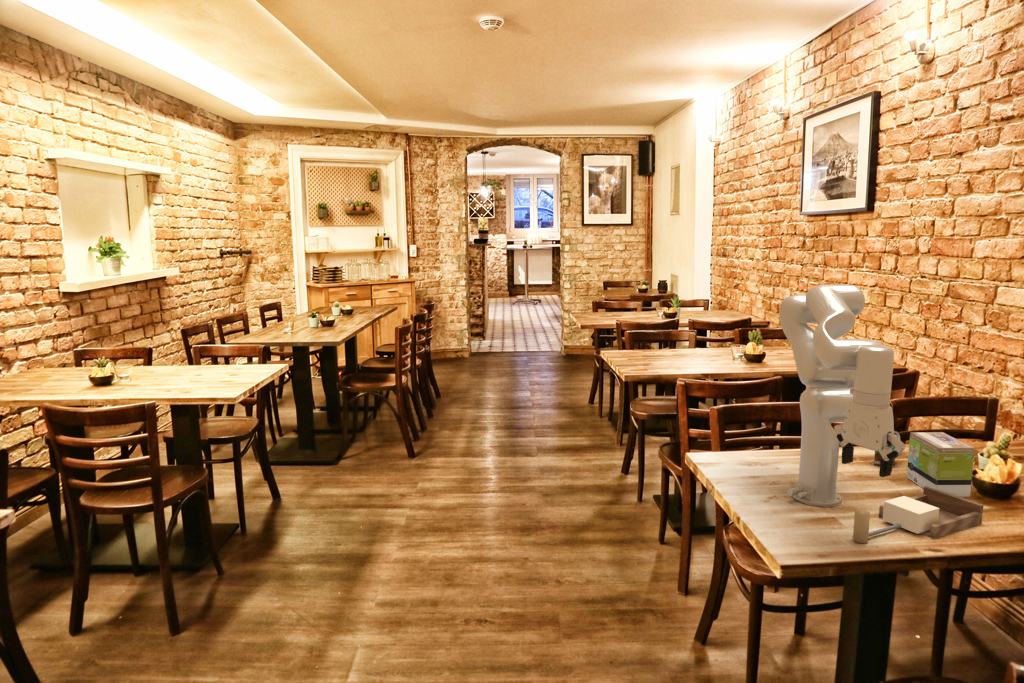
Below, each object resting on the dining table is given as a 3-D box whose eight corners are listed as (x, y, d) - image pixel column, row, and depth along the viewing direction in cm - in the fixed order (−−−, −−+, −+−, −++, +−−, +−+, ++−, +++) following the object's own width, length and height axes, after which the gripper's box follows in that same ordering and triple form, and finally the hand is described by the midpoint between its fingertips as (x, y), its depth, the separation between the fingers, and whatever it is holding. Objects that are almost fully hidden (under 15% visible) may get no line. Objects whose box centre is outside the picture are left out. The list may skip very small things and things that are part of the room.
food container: (895, 470, 206) (898, 439, 205) (873, 466, 210) (875, 436, 208) (901, 460, 216) (903, 430, 214) (879, 456, 219) (882, 427, 218)
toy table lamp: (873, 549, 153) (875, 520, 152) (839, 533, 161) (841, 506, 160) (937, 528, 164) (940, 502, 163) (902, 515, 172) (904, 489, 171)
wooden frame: (934, 538, 159) (936, 519, 158) (878, 516, 172) (880, 498, 171) (981, 523, 168) (983, 504, 167) (924, 503, 180) (926, 486, 180)
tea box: (904, 478, 200) (908, 430, 197) (938, 478, 199) (943, 431, 197) (934, 497, 185) (939, 446, 182) (971, 497, 184) (976, 446, 182)
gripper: (827, 392, 159) (822, 460, 162) (896, 409, 144) (890, 484, 146) (849, 388, 162) (843, 456, 165) (918, 405, 147) (911, 478, 150)
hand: (865, 469), depth 156 cm, fingers open, 9 cm apart
